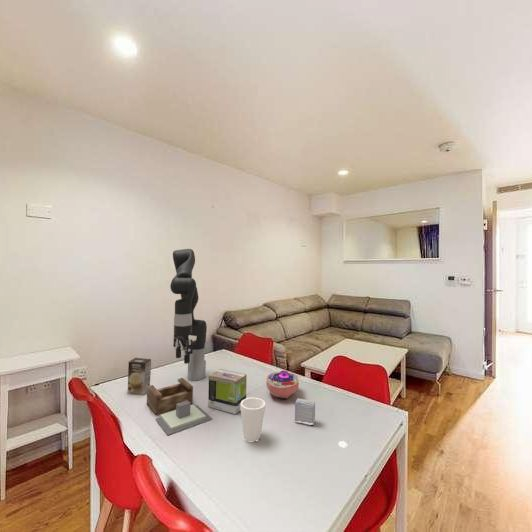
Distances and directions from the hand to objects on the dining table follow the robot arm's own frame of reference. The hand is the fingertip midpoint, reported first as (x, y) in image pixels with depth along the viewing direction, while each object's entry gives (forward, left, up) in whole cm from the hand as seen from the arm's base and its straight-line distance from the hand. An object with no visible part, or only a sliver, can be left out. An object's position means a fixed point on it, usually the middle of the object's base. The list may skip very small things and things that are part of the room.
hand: (182, 360), depth 123 cm
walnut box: (+1, -11, -23) cm, 26 cm away
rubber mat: (+1, +5, -23) cm, 24 cm away
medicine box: (-38, +37, -23) cm, 59 cm away
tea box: (-19, +6, -24) cm, 31 cm away
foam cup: (-14, +32, -23) cm, 42 cm away
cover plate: (+1, +4, -23) cm, 23 cm away
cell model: (-48, +13, -23) cm, 55 cm away
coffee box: (+9, -33, -23) cm, 41 cm away
